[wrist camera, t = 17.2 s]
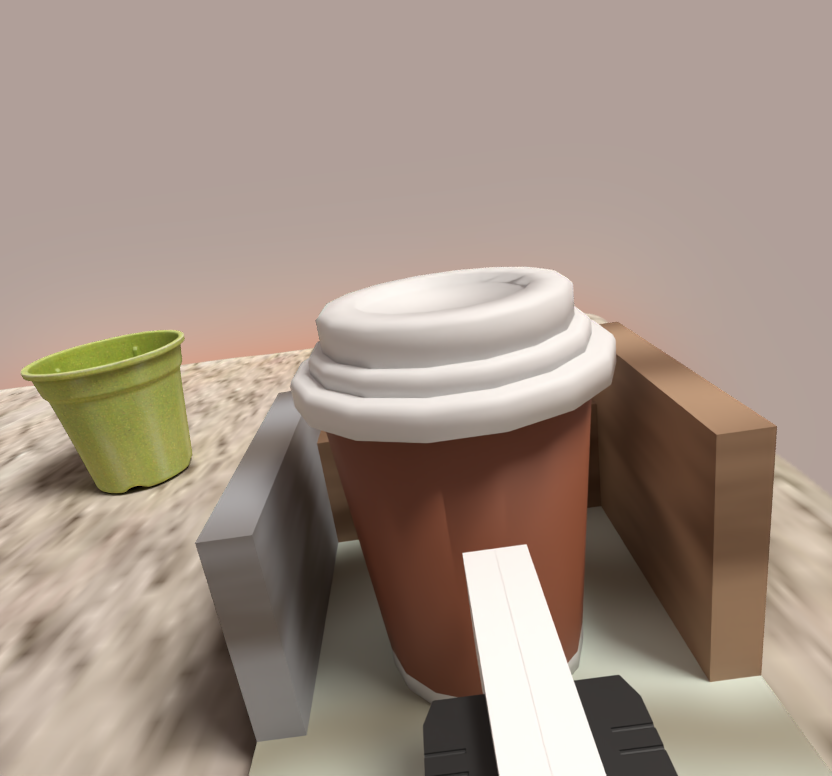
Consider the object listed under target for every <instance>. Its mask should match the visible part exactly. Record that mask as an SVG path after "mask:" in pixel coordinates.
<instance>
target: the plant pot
mask: <svg viewBox="0 0 832 776" xmlns="http://www.w3.org/2000/svg"><path fill="white" fill-rule="evenodd" d="M183 341H184V334H183V333H182V332H181V331H177V330H158V331H148V332H140V333H135V334H128V335H123V336H118V337H114V338H109V339H104V340H100V341H96V342H92V343H88V344H85V345H81V346H77V347H74V348H70V349H67V350H64V351H61V352H57V353H54V354H51V355H49V356H46V357H44V358H41V359H39V360H37V361H35V362H33V363H31V364H29V365H27V366H26V367H24V368H23V369H22V371H21V375H22V377H23V379H25V380H28V381H32V382H33V384H34V386H35V387H36V389H37V390H38V392H39V394H40V395H41V396H42V398H43V399H45V400H46V401H48V402H49V403H50V405H51V406H52V408H53V410H54V411H55V413H56V415H57V417H58V418H59V420H60V422H61V423H62V425H63V427H64V429H65V430H66V432H67V434H68V436H69V437H70V439H71V441H72V443H73V445H74V446H75V448H76V450H77V452H78V453H79V455H80V457H81V459H82V461H83V463H84V464H85V466H86V468H87V470H88V472H89V473H90V475H91V477H92V479H93V480H94V482H95V484H96V486H97V487H98V489H100V490H101V491H104V492H109V493H123V492H126V491H127V490H128V489H130V488H132V487H135V486H147V487H150V486H153V485H156V484H159V483H162V482H164V481H165V480H167V479H169V478H171V477H173V476H175V475H176V474H178V473H180V472H181V471H183V470H184V469H185V468H186V467H187V466H188V465H189V463H190V459H191V456H192V448H191V442H190V435H189V429H188V422H187V415H186V408H185V401H184V395H183V388H182V381H181V373H180V365H181V363H182V355H181V347H180V344H181V343H182V342H183Z"/></svg>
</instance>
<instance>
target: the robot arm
mask: <svg viewBox="0 0 832 776" xmlns="http://www.w3.org/2000/svg"><path fill="white" fill-rule="evenodd" d="M462 554H463V561H464V569H465V576H466V583H467V590H468V598H469V605H470V612H471V619H472V627H473V634H474V641H475V648H476V654H477V660H478V667H479V673H480V679H481V685H482V692H483V694H480V695H472V696H465V697H457V698H449V699H442V700H434V701H432V704H431V706H430V709H429V711H428V714H427V716H426V719H425V721H424V724H423V743H424V767H425V776H678V774H677V772H676V770H675V768H674V766H673V764H672V762H671V759H670V757H669V755H668V753H667V751H666V750H665V749H664V745H663V742H662V740H661V738H660V736H659V734H658V731H657V729H656V727H654V724H653V721H652V719H651V716H650V714H649V712H648V710H647V708H646V706H645V704H644V701H643V699H642V697H641V695H640V694H639V693H638V692H637V691H636V690H635V689H634V688H633V687H631V686H630V685H629V684H628V683H627V682H626V681H625V680H624V679H623V678H622V677H621V676H620V675H612V676H604V677H596V678H589V679H581V680H574V681H573V678H572V675H571V672H570V669H569V666H568V663H567V660H566V657H565V654H564V652H563V649H562V646H561V643H560V640H559V637H558V634H557V631H556V628H555V625H554V623H553V620H552V617H551V614H550V611H549V608H548V605H547V602H546V599H545V597H544V594H543V591H542V588H541V585H540V582H539V579H538V576H537V573H536V570H535V568H534V565H533V562H532V559H531V556H530V553H529V550H528V547H527V544H525V545H517V546H510V547H503V548H495V549H488V550H481V551H474V552H466V553H462Z"/></svg>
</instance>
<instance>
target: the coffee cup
mask: <svg viewBox="0 0 832 776" xmlns="http://www.w3.org/2000/svg"><path fill="white" fill-rule="evenodd" d="M316 325H317V330H318V335H319V340H320V341H319V342H317V343H316V345H315V347H314V349H313V351H312V353H311V355H310V357H309V358H308V359H306V360H305V361H303V362H302V363H301V365H300V366H299V368H298V370H297V372H296V374H295V375H294V377H293V379H292V381H291V385H290V388H291V392H292V397H293V401H294V406H295V408H296V409H297V411H298V412H299V413H300V414H301V416H302V417H303V418H304V419H305V421H306V422H307V423H308V425H309V426H310V427H312V428H315V429H319V430H322V431H325V432H326V434H327V437H328V440H329V444H330V447H331V450H332V453H333V457H334V460H335V463H336V467H337V470H338V473H339V476H340V480H341V483H342V486H343V490H344V493H345V496H346V499H347V503H348V506H349V509H350V513H351V516H352V519H353V522H354V526H355V529H356V532H357V536H358V539H359V542H360V546H361V549H362V552H363V555H364V559H365V562H366V565H367V569H368V572H369V575H370V578H371V582H372V585H373V588H374V592H375V595H376V598H377V601H378V605H379V608H380V611H381V615H382V618H383V621H384V624H385V628H386V631H387V634H388V638H389V641H390V644H391V647H392V652H393V657H394V662H395V664H396V666H397V668H398V670H399V672H400V673H401V675H402V677H403V679H404V681H405V682H406V684H407V686H408V688H409V689H410V690H412V691H413V692H414V693H416V694H417V695H419V696H420V697H422V698H423V699H425V700H426V701H428V702H429V703H431V704H432V701H434V700H442V699H449V698H457V697H465V696H472V695H480V694H483V692H482V685H481V679H480V673H479V667H478V660H477V654H476V648H475V641H474V634H473V627H472V619H471V612H470V605H469V598H468V590H467V583H466V576H465V569H464V561H463V554H462V553H466V552H474V551H481V550H488V549H495V548H503V547H510V546H517V545H525V544H527V547H528V550H529V553H530V556H531V559H532V562H533V565H534V568H535V570H536V573H537V576H538V579H539V582H540V585H541V588H542V591H543V594H544V597H545V599H546V602H547V605H548V608H549V611H550V614H551V617H552V620H553V623H554V625H555V628H556V631H557V634H558V637H559V640H560V643H561V646H562V649H563V652H564V654H565V657H566V660H567V663H568V666H569V669H570V672H571V675H573V674H574V672H575V671H576V670H577V669H578V667H579V662H580V656H581V650H582V644H583V623H582V622H583V597H584V572H585V548H586V523H587V498H588V473H589V448H590V424H591V399H592V398H593V397H594V396H595V395H597V394H598V393H600V392H601V391H603V390H604V389H605V388H607V387H608V386H610V385H611V383H612V379H613V375H614V370H615V366H616V340H615V338H614V336H613V334H611V333H610V332H609V331H607V330H606V329H604V328H603V327H602V326H600V325H599V324H598V323H596V322H595V321H594V320H590V318H589V316H587V315H586V314H585V313H583V312H582V311H580V310H579V309H578V308H576V307H575V306H574V295H573V283H572V282H571V281H570V280H568V279H567V278H566V277H564V276H563V275H561V274H559V273H558V272H556V271H554V270H548V269H541V268H533V267H490V268H477V269H465V270H454V271H447V272H441V273H434V274H427V275H420V276H414V277H410V278H405V279H400V280H395V281H391V282H386V283H382V284H377V285H374V286H371V287H368V288H364V289H361V290H357V291H354V292H351V293H348V294H345V295H343V296H341V297H339V298H337V299H335V300H333V301H331V302H329V303H327V304H326V305H325V307H324V308H323V310H322V311H321V313H320V314H319V316H318V318H317V319H316Z"/></svg>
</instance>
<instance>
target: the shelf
mask: <svg viewBox="0 0 832 776" xmlns="http://www.w3.org/2000/svg"><path fill="white" fill-rule="evenodd" d="M599 325H600V326H602V327H603V328H604V329H606V330H607V331H609V332H610V333H611V334H613V336H614V338H615V340H616V366H615V370H614V375H613V379H612V383H611V385H610V386H608V387H607V388H605V389H604V390H603V391H601V392H600V393H598V394H597V395H595V396H594V397H593V398H592V399H591V424H590V448H589V473H588V498H587V523H586V548H585V572H584V597H583V622H582V623H583V644H582V650H581V656H580V662H579V667H578V669H577V670H576V671H575V672H574V674H573V675H572V678H573V681H574V680H581V679H589V678H596V677H604V676H612V675H620V676H621V677H622V678H623V679H624V680H625V681H626V682H627V683H628V684H629V685H630V686H631V687H633V688H634V689H635V690H636V691H637V692H638V693H639V694H640V695H641V697H642V699H643V701H644V704H645V706H646V708H647V710H648V712H649V714H650V716H651V719H652V721H653V724H654V727H656V729H657V731H658V734H659V736H660V738H661V740H662V742H663V745H664V749H665V750H666V751H667V753H668V755H669V757H670V759H671V762H672V764H673V766H674V768H675V770H676V772H677V774H678V776H832V772H831V771H830V769H829V768H828V766H827V765H826V764H825V762H824V761H823V760H822V758H821V757H820V755H819V754H818V753H817V751H816V750H815V749H814V747H813V746H812V745H811V743H810V742H809V740H808V739H807V738H806V736H805V735H804V734H803V732H802V731H801V729H800V728H799V727H798V725H797V724H796V723H795V721H794V720H793V718H792V717H791V716H790V714H789V713H788V712H787V710H786V709H785V707H784V706H783V705H782V703H781V702H780V701H779V699H778V698H777V697H776V695H775V694H774V692H773V691H772V690H771V688H770V687H769V686H768V684H767V683H766V681H765V680H764V679H763V677H762V676H761V670H762V654H763V638H764V622H765V607H766V591H767V575H768V560H769V544H770V528H771V513H772V497H773V481H774V465H775V450H776V434H777V426H775V425H774V424H773V423H771V422H770V421H768V420H766V419H765V418H763V417H762V416H760V415H759V414H757V413H756V412H754V411H753V410H751V409H750V408H748V407H747V406H745V405H744V404H742V403H741V402H739V401H738V400H736V399H734V398H733V397H732V396H730V395H728V394H727V393H725V392H724V391H722V390H721V389H719V388H718V387H716V386H715V385H713V384H712V383H710V382H709V381H707V380H706V379H704V378H703V377H701V376H699V375H698V374H696V373H695V372H693V371H692V370H690V369H689V368H687V367H686V366H684V365H683V364H681V363H679V362H678V361H676V360H675V359H674V358H672V357H670V356H669V355H667V354H666V353H664V352H663V351H661V350H660V349H658V348H657V347H655V346H654V345H652V344H651V343H649V342H648V341H646V340H645V339H643V338H642V337H640V336H638V335H637V334H635V333H634V332H632V331H630V330H629V329H628V328H626V327H625V326H623V325H622V324H620V323H619V322H612V323H605V324H599ZM195 544H196V547H197V550H198V554H199V557H200V560H201V563H202V566H203V570H204V573H205V576H206V579H207V583H208V586H209V589H210V592H211V595H212V599H213V602H214V605H215V608H216V612H217V615H218V618H219V621H220V624H221V628H222V631H223V634H224V637H225V641H226V644H227V647H228V650H229V653H230V657H231V660H232V663H233V666H234V669H235V673H236V676H237V679H238V682H239V686H240V689H241V692H242V695H243V698H244V702H245V705H246V708H247V711H248V715H249V718H250V721H251V724H252V727H253V731H254V734H255V737H256V740H257V744H256V748H255V752H254V756H253V760H252V764H251V768H250V772H249V776H425V767H424V743H423V724H424V721H425V719H426V716H427V714H428V711H429V709H430V706H431V703H429V702H428V701H426V700H425V699H423V698H422V697H420V696H419V695H417V694H416V693H414V692H413V691H412V690H410V689H409V688H408V686H407V684H406V682H405V681H404V679H403V677H402V675H401V673H400V672H399V670H398V668H397V666H396V664H395V662H394V657H393V652H392V647H391V644H390V641H389V638H388V634H387V631H386V628H385V624H384V621H383V618H382V615H381V611H380V608H379V605H378V601H377V598H376V595H375V592H374V588H373V585H372V582H371V578H370V575H369V572H368V569H367V565H366V562H365V559H364V555H363V552H362V549H361V546H360V542H359V539H358V536H357V532H356V529H355V526H354V522H353V519H352V516H351V513H350V509H349V506H348V503H347V499H346V496H345V493H344V490H343V486H342V483H341V480H340V476H339V473H338V470H337V467H336V463H335V460H334V457H333V453H332V450H331V447H330V444H329V440H328V437H327V434H326V432H325V431H322V430H319V429H315V428H312V427H310V426H309V425H308V423H307V422H306V421H305V419H304V418H303V417H302V416H301V414H300V413H299V412H298V411H297V409H296V408H295V406H294V401H293V397H292V392H291V391H289V392H282V393H279V394H278V395H277V397H276V399H275V401H274V403H273V404H272V406H271V408H270V410H269V412H268V413H267V415H266V417H265V419H264V421H263V422H262V424H261V426H260V428H259V429H258V431H257V433H256V435H255V437H254V438H253V440H252V442H251V444H250V446H249V447H248V449H247V451H246V453H245V455H244V456H243V458H242V460H241V462H240V464H239V465H238V467H237V469H236V471H235V473H234V474H233V476H232V478H231V480H230V481H229V483H228V485H227V487H226V489H225V490H224V492H223V494H222V496H221V498H220V499H219V501H218V503H217V505H216V507H215V508H214V510H213V512H212V514H211V516H210V517H209V519H208V521H207V523H206V525H205V526H204V528H203V530H202V532H201V534H200V535H199V537H198V539H197V541H196V542H195Z"/></svg>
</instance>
